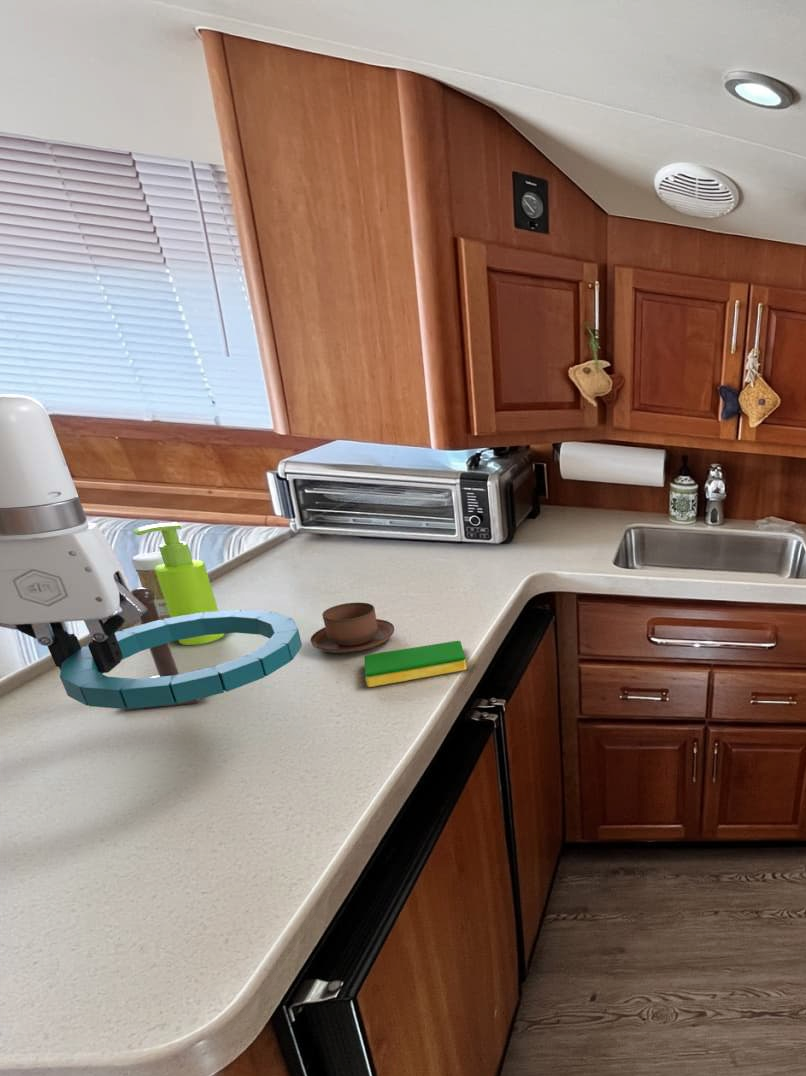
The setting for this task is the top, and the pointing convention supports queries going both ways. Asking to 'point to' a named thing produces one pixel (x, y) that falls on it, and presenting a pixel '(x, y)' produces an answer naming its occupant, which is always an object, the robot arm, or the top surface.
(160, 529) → the soap dispenser
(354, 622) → the cup and saucer
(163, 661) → the wooden peg stand
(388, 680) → the dish sponge
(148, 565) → the sprinkles bottle
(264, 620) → the hoop
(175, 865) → the top surface
